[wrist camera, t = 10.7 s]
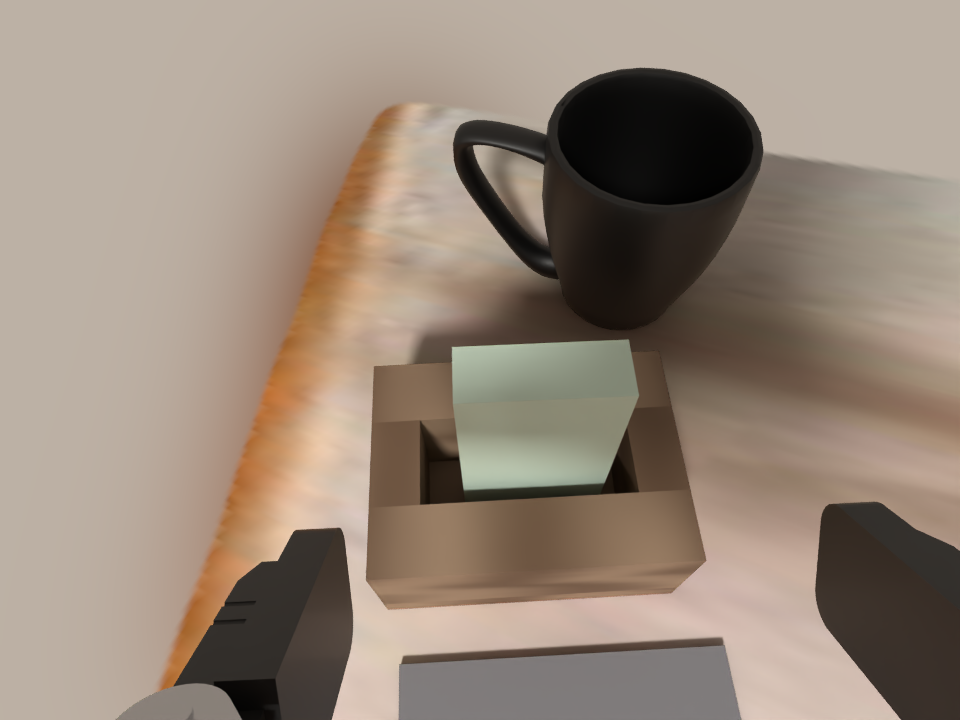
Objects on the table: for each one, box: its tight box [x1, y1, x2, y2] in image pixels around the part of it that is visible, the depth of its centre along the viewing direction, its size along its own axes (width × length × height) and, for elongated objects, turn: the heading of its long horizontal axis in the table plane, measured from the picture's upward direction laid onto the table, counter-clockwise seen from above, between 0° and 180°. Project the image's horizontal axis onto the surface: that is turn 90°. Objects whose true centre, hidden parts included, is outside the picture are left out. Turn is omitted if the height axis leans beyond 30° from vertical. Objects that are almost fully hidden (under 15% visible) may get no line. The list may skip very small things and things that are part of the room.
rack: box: [366, 351, 706, 610], centre depth 25 cm, size 11×8×5 cm
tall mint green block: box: [452, 340, 639, 502], centre depth 22 cm, size 5×2×10 cm, turn 92°
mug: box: [453, 68, 763, 330], centre depth 29 cm, size 8×12×10 cm
